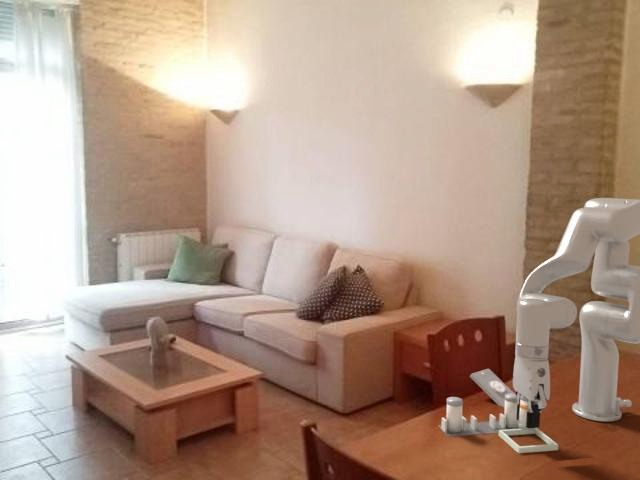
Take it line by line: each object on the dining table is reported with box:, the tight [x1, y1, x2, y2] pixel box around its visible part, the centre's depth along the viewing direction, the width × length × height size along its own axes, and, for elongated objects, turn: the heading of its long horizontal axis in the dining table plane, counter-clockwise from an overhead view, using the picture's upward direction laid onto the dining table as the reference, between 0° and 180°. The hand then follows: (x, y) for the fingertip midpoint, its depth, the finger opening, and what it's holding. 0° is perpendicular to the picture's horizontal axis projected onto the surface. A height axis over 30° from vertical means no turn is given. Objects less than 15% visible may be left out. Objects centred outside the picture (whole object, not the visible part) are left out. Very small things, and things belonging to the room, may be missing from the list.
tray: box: [498, 428, 559, 454], centre depth 155 cm, size 10×10×2 cm
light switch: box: [469, 368, 516, 409], centre depth 185 cm, size 8×6×14 cm
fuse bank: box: [437, 392, 520, 438], centre depth 163 cm, size 22×7×9 cm, turn 101°
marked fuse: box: [518, 395, 537, 431], centre depth 153 cm, size 4×4×8 cm
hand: (527, 423), depth 154 cm, fingers closed on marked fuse, 3 cm apart
